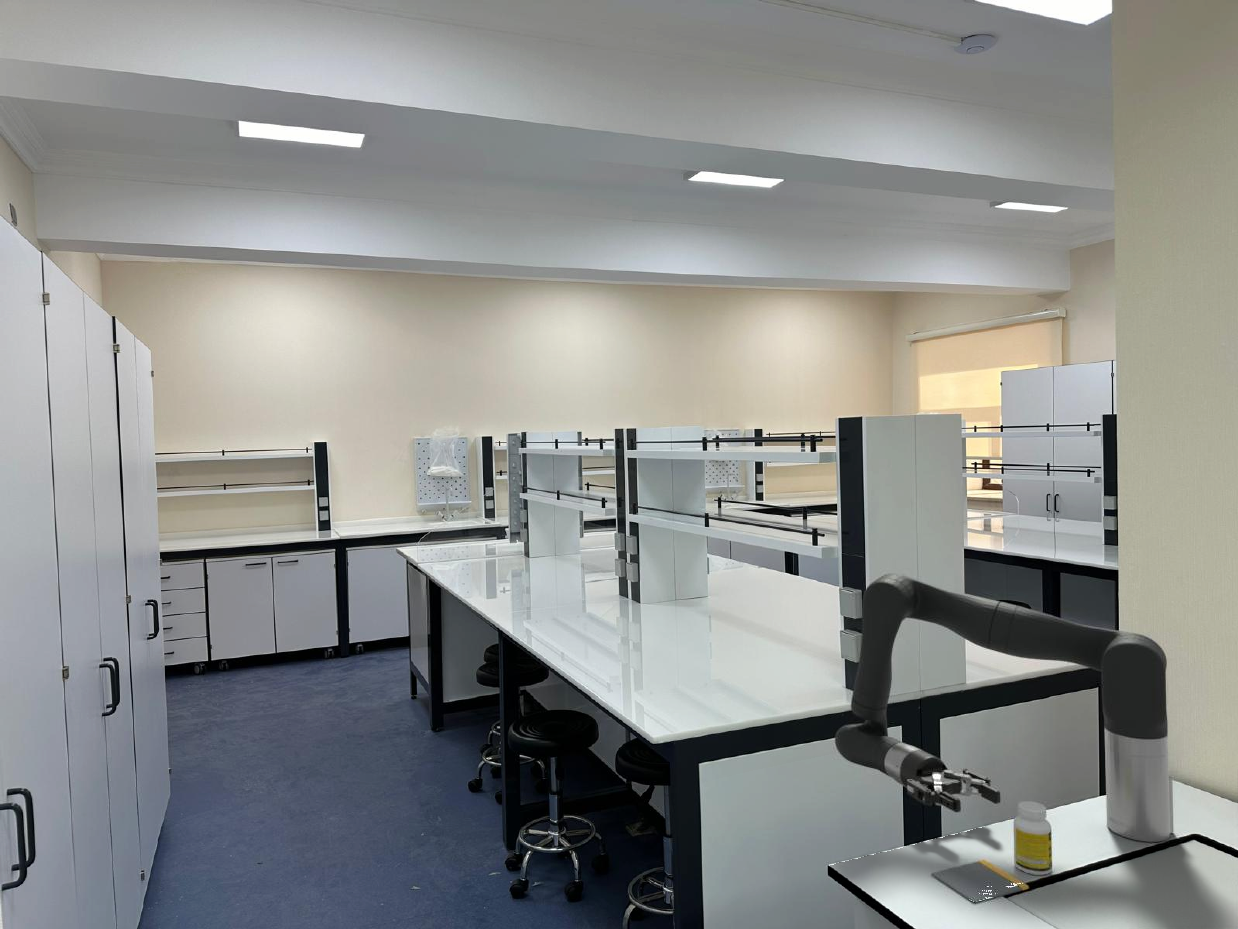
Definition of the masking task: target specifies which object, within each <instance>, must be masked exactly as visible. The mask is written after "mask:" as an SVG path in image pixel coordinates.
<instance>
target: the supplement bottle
mask: <svg viewBox="0 0 1238 929" xmlns="http://www.w3.org/2000/svg"><path fill="white" fill-rule="evenodd" d="M1017 811H1018V812H1017V813H1018V815H1016V816H1015V818H1014V819H1013V860H1014V862H1013V863H1014V865H1015V867H1016V868H1017V869H1019V870H1020V871H1021V870H1022V872H1023V871H1024V872H1023V873H1026V874H1029V873H1030V874H1029V875H1035V876H1044V874H1046V875H1048V873H1049V874H1050V873H1051V872H1052V871H1053V846H1052V845H1053V843H1052V839H1053V838H1052V833H1053V832H1052V831H1053V830H1052V825H1051V823H1050V822H1049V821H1048V819H1046V818H1047V808H1046V805H1043V804H1042V803H1039V802H1037V801H1029V800H1027V801H1020V802H1019V803H1018V804H1017Z"/></svg>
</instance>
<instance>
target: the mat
mask: <svg viewBox="0 0 1238 929" xmlns="http://www.w3.org/2000/svg"><path fill="white" fill-rule="evenodd" d="M930 875H931V876H933V877H934V878H935V879H937V880H938V879H939V880H938V881H939V882H942V883H943V884H944V883H945V886H947V885H948V886H947V887H949V888H950V887H951V889H952V888H953V889H954V890H953V889H952V890H953V891H955V890H956V891H957V892H956V891H955V892H956V893H958V894H959V893H960V894H959V895H961V894H962V895H963V897H964V898H965V897H966V898H965V899H967V898H968V899H970V900H972V901H974V902H976V901H979V900H983V899H986V898H985V897H987V898H988V897H996V896H1000V897H1003V896H1006V895H1011V894H1014V893H1017V892H1021V891H1026V890H1028V889H1029V888H1030V887H1029V885H1028V884H1026V883H1025V882H1022V881H1021V880H1019V879H1017V878H1016V877H1014V876H1013V875H1011V874H1009V873H1008V872H1006V871H1004V870H1002V869H1001V868H999V867H997V866H995V865H994V864H993V863H991V862H989V861H987V860H986V859H979V860H977V861H974V862H971V863H966V864H963V865H962V864H961V865H958V866H955V867H951V868H945V869H942V870H939V871H935V872H931V874H930ZM1011 883H1012V885H1011ZM1013 883H1015V884H1017V883H1021V884H1017V885H1018V886H1019V887H1018V886H1016V887H1013V888H1010V887H1009V888H1008V887H1006V886H1014V885H1013ZM1022 883H1023V884H1022ZM987 886H989V887H987ZM991 886H992V887H991ZM982 890H983V891H982ZM984 890H985V891H984ZM986 890H987V892H986ZM988 890H992V891H991V892H990V891H989V892H988ZM979 893H980V894H979ZM983 893H988V894H984V895H983ZM989 893H990V894H991V893H992V895H989ZM995 893H996V894H995ZM962 895H961V896H962ZM996 898H997V897H996ZM968 899H967V900H968ZM970 900H969V901H970Z"/></svg>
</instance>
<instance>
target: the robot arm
mask: <svg viewBox="0 0 1238 929" xmlns="http://www.w3.org/2000/svg"><path fill="white" fill-rule="evenodd" d="M862 597H863V598H862V616H861V617H862V622H861V623H862V625H861V626H862V629H861V643H860V654H859V660H858V666H857V672H856V676H855V681H854V687H853V690H852V695H851V700H850V709H851V712H852V713H853V714H854V715H855V716H857V717H858V718H860V719H863V720H864V723H853V724H845V725H843V726H841V727H840V728H839V729H838V730H837V731H836V733H835V735H834V736H835V737H834V743H835V747H836V750H837V752H838V753H839V754H840V755H841V757H842V758H844V759H845V760H846V761H848V762H850V763H852V764H856V765H858V766H863V767H866V768H870V769H874V770H877V771H879V772H881V773H882V774H884V775H885V776H887V777H888V778H889V777H890V778H892V779H893V780H894V781H895V782H896V783H898V784H899V785H901V786H903V787H905V788H906V794H907V795H908V796H910V797H911V798H913V799H914V800H916V801H918V802H919V803H921V804H923V805H925V806H926V807H930V806H932V804H933V803H934V804H935V806H943V807H945V809H949V810H951V811H952V812H954V813H960V812H961V809H962V806H961V804H962V802H961V800H960V798H958V797H956V796H954V795H958V796H965V797H971V795H974V796H979V797H981V798H984V799H985V800H988V801H990V802H991V803H994V804H996V805H997V804H1000V803H1001V792H1000V791H999V789H997V788H994V787H992V786H991V782H992V781H991V778H990V777H988V776H986V775H984V774H981V773H979V772H976V771H974V770H972V769H971V768H967V767H965V768H964V767H963V768H962V772H961V773H958V772H956V771H954V770H951V769H950V770H949V769H948V768H947V765H946V764H945V763H944V761H942V760H941V758H939V757H937V756H935V755H932V754H931V753H928V752H926V751H924V750H922V749H921V748H918V747H917V746H913V745H910V744H907V743H905V742H903V741H901V740H898V739H896V738H895V737H891V736H889V732H888V720H887V719H888V718H887V708H888V703H889V698H890V694H891V689H892V682H893V680H892V679H893V667H892V666H893V665H892V657H893V648H894V644H895V640H896V637H897V635H898V632H899V630H900V627H901V625H902V622H903V621H904V620H905V619H913V620H917V621H923V622H927V623H932V624H936V625H939V626H941V627H943V628H946V629H947V630H950V631H951V632H953V633H954V634H957V636H960V637H961V638H963V639H965V640H967V641H969V643H972V644H974V645H976V646H978V647H981V648H984V649H987V650H990V651H994V652H998V653H1001V654H1004V655H1007V656H1012V657H1017V658H1022V659H1024V658H1025V659H1030V660H1041V661H1055V662H1065V663H1070V664H1071V663H1072V664H1076V665H1080V666H1083V667H1085V668H1089V669H1092V670H1095V671H1098V672H1101V676H1100V677H1101V697H1102V698H1101V699H1102V701H1101V702H1102V713H1103V718H1104V720H1103V721H1104V722H1103V724H1104V752H1105V753H1104V755H1105V790H1106V791H1105V792H1106V793H1105V795H1106V796H1105V797H1106V802H1105V803H1106V805H1105V806H1106V807H1105V808H1106V826H1107V827H1108V829H1109V828H1110V829H1111V830H1110V829H1109V830H1110V831H1112V832H1113V833H1115V834H1117V835H1119V836H1122V837H1124V838H1127V839H1131V840H1135V841H1141V842H1149V843H1150V842H1152V843H1153V842H1154V843H1156V842H1157V843H1159V842H1164V841H1166V840H1168V839H1169V838H1170V837H1171V834H1172V833H1174V832H1175V830H1174V791H1173V790H1174V789H1173V788H1174V787H1173V777H1172V776H1171V775H1170V774H1169V773H1170V772H1169V742H1168V741H1169V736H1168V732H1169V730H1168V728H1169V726H1168V723H1169V722H1168V712H1167V674H1166V671H1167V665H1168V664H1167V663H1168V661H1167V660H1168V659H1167V656H1166V654H1165V651H1164V650H1163V648H1162V647H1161V646H1160V645H1159V644H1158V643H1157V642H1156V641H1155V640H1153V639H1152V638H1150V637H1148V636H1146V635H1144V634H1140V633H1135V632H1131V631H1123V630H1122V631H1121V630H1115V629H1109V628H1102V627H1097V626H1091V625H1086V624H1081V623H1076V622H1073V621H1070V620H1066V619H1064V618H1061V617H1058V616H1055V615H1052V614H1048V613H1045V612H1041V611H1037V610H1034V609H1030V608H1028V607H1024V606H1020V605H1016V604H1012V603H1008V602H1005V601H1000V600H995V599H990V598H985V597H981V596H979V595H978V596H976V595H973V594H968V593H964V592H958V591H952V590H949V589H945V588H941V587H939V586H938V587H937V586H935V585H933V584H929V583H927V582H924V581H921V580H919V579H915V578H913V577H911V576H907V575H904V574H902V573H901V574H900V573H886V574H884V575H882V576H880V577H879V578H877V579H875V580H874V581H872V582H871V583H870V584H869V585H868V586H867V587H866V589H865V591H864V592H863V596H862ZM963 784H965V789H963ZM973 788H974V789H973Z"/></svg>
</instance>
